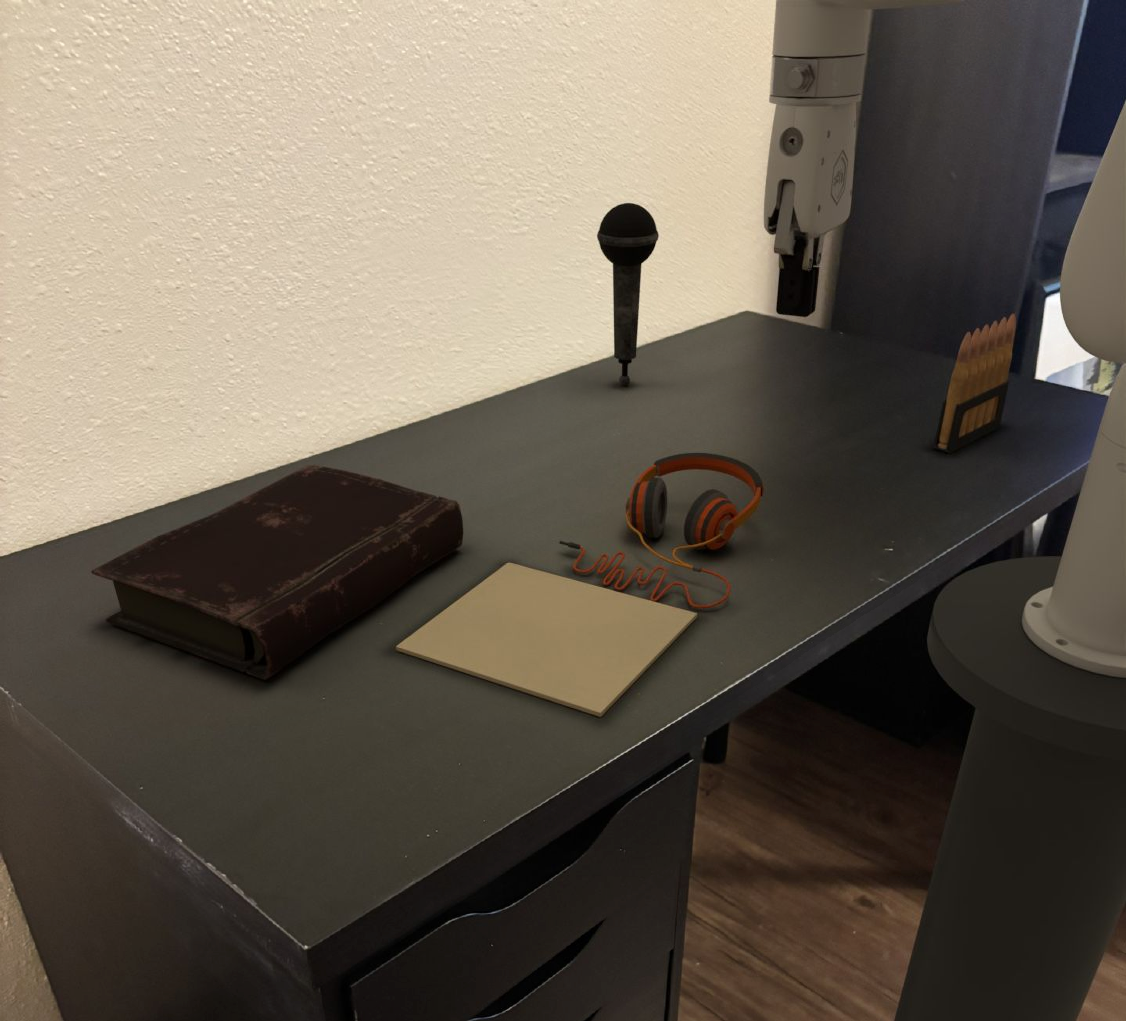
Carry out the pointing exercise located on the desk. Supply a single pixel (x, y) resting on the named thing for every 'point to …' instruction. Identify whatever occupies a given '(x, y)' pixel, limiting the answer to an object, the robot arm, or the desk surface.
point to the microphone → (627, 272)
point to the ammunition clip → (977, 386)
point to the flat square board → (550, 637)
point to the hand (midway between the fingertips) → (795, 313)
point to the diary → (281, 566)
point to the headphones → (704, 521)
